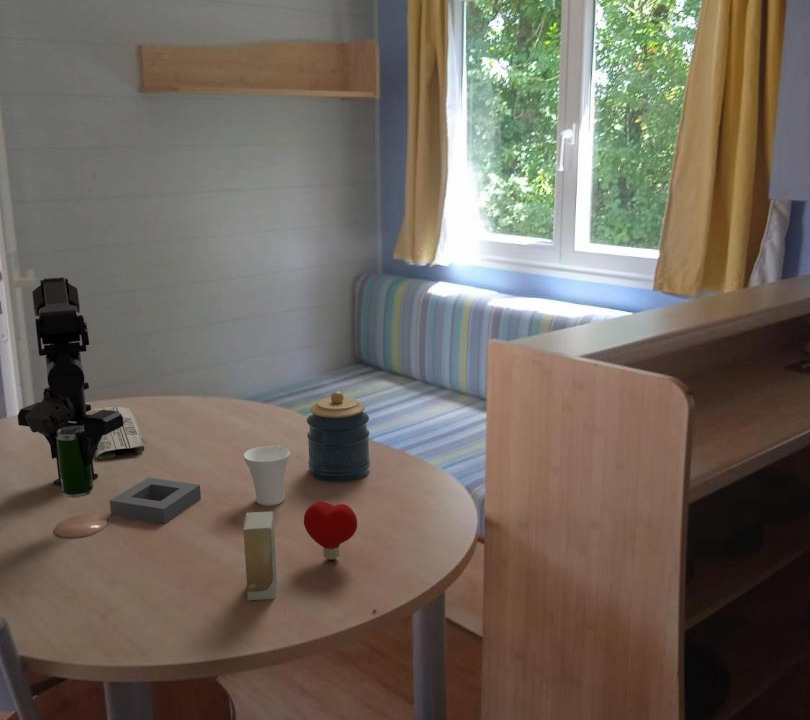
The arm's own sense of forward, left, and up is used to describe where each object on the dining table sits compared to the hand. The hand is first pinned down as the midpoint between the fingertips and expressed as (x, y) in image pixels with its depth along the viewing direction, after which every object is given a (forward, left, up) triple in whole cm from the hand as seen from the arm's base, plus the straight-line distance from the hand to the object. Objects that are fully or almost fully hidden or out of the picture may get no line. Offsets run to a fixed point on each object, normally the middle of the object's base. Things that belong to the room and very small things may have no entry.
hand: (75, 463), depth 160 cm
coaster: (0, 0, -12) cm, 12 cm away
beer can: (0, 0, -6) cm, 6 cm away
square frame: (+8, +12, -12) cm, 19 cm away
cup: (+27, +22, -13) cm, 37 cm away
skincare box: (+43, -10, -13) cm, 46 cm away
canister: (+34, +40, -13) cm, 54 cm away
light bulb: (+49, +3, -13) cm, 51 cm away
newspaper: (-27, +45, -13) cm, 54 cm away
